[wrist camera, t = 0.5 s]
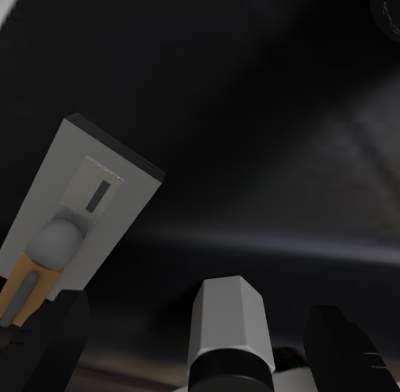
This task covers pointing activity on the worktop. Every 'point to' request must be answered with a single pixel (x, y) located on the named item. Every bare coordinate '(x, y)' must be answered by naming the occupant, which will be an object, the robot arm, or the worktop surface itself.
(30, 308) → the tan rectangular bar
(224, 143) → the worktop surface
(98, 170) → the plate
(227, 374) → the jar
